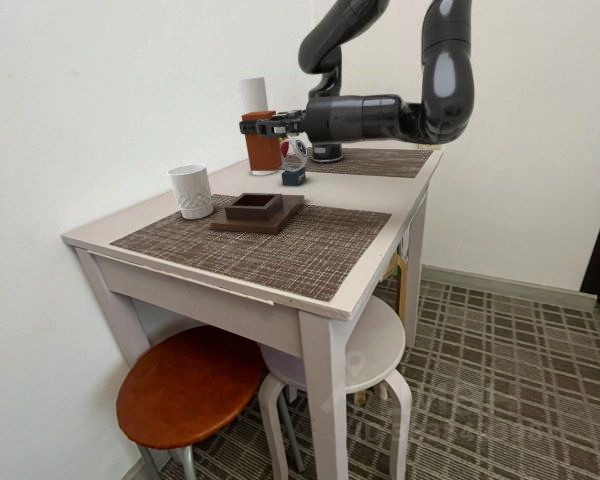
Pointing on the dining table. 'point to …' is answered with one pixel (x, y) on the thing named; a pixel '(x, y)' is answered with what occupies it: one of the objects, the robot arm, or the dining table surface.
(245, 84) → the cylindrical container
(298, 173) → the watch
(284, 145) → the strawberry
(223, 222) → the brown square tray
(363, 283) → the dining table surface
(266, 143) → the brown rectangular block
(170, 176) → the white cup
